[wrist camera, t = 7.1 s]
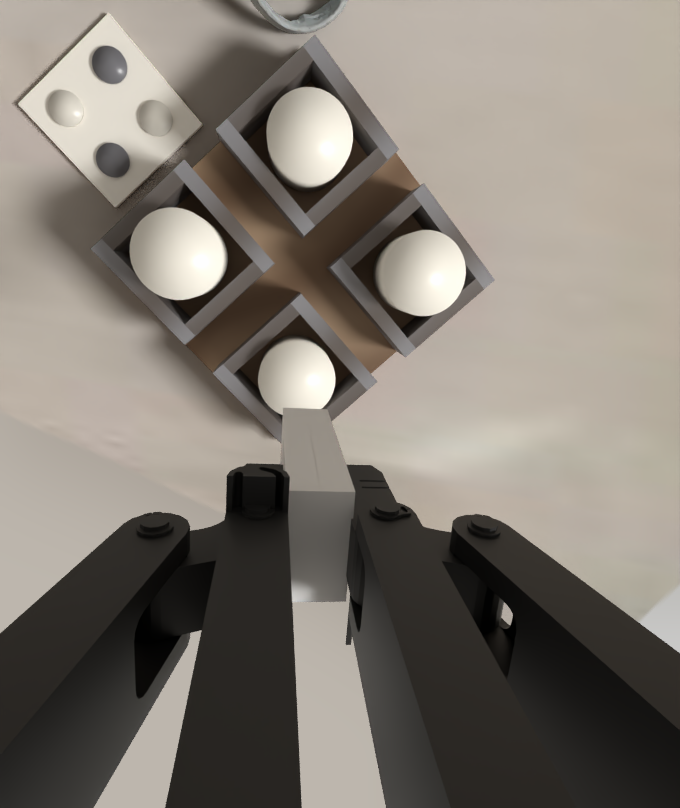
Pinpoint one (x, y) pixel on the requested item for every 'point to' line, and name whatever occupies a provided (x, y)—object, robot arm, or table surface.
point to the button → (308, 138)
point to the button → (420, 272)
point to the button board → (296, 247)
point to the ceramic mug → (302, 17)
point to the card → (111, 111)
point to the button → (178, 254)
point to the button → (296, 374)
